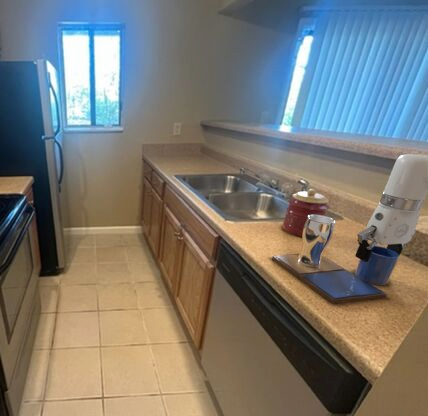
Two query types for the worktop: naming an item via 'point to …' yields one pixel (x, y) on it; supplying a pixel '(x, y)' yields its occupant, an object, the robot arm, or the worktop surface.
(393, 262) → the blue tumbler
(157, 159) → the worktop surface
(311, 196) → the kitchen canister
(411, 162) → the robot arm
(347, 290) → the sorting board
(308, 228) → the beer glass
